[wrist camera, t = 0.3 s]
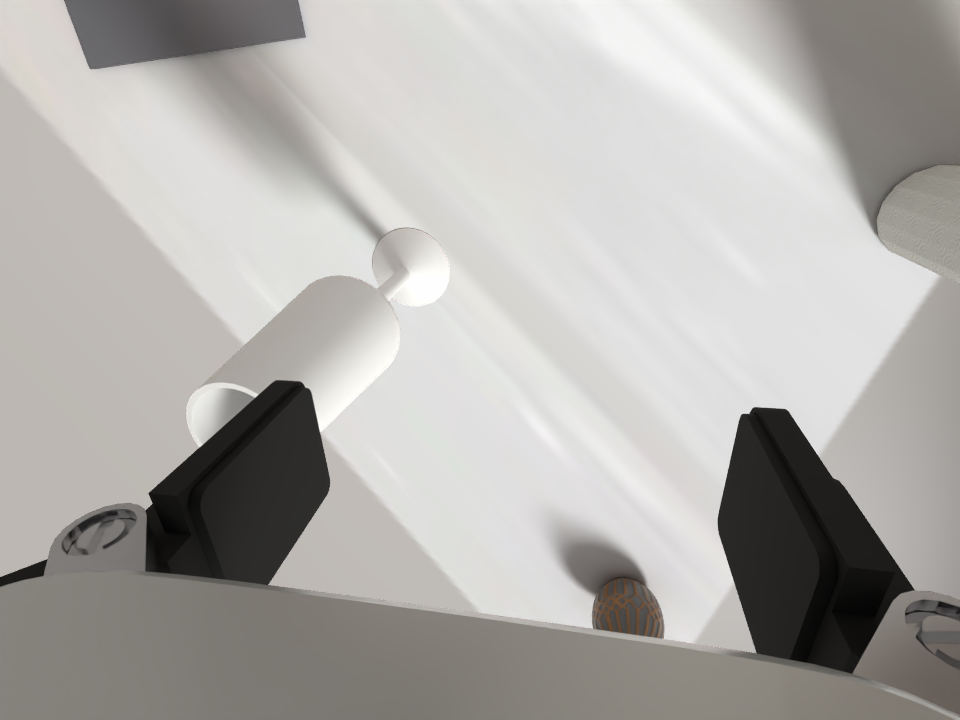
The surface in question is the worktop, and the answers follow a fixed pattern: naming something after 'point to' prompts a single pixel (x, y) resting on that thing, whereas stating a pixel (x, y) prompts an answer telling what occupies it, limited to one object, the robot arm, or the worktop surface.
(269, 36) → the mat
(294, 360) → the champagne flute
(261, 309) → the worktop surface
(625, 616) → the patterned egg
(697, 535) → the worktop surface
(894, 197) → the grey tall block
